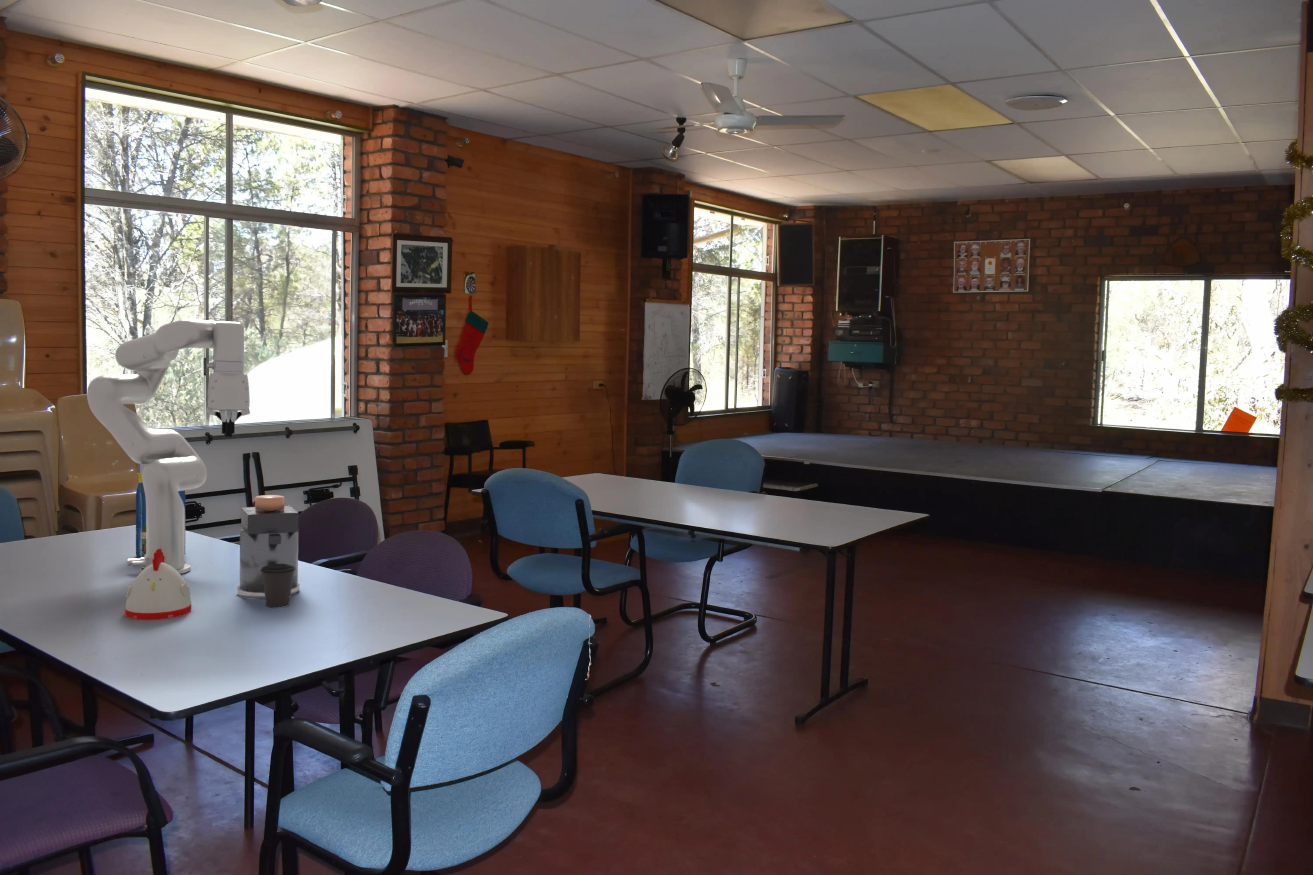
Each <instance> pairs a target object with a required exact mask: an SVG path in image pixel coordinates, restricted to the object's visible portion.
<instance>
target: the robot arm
mask: <svg viewBox="0 0 1313 875" xmlns="http://www.w3.org/2000/svg"><path fill="white" fill-rule="evenodd" d="M189 348H190V349H195V348H196V349H212V351H213V352H212V362H209V363H208V362H207V363H206V368H207V369H211V370H212V372H210V373H209V377H208V384H207V393H206V396H207V398H206V402H207V404H206V405H207V407H206V410H205V412H206V414H207V415H211V416H215V417H217V419H218V420H220V421H221V434H223V436H224V437H225V438H228V437H229V438H231V437H233V434H234V435H235V423H236V421H237V420H238V419H239V418H241V417H242V416H248V415H250V414H251V410H250V402H251V401H250V400H251V399H250V385H249V383H250V382H249V378H248V374H247V373H245V366H244V365H245V327H244V324H243V323H241V322H239V321H238V322H237V321H222V320H221V321H216V320H206V319H195V318H193V319H192V318H184V319H180V320H179V319H178V320H175V321H172V322H169V323H166V324H163V325H161V326H160V327H159V328H158V329H157V330H156V331H155V332H152V333H150V334H147V335H143V336H139V337H137V338H134V339H133V338H132V339H130V340H126V341H125V342H122V343H121V344H120V345H119V346H118V347H117V348H116V350H115V353H114V354H115V355H114V356H115V360H116V362H117V363H118V365H119V366H120V367H122V368H124V369H125V370H128V371H132V372H133V371H134V372H136V373H135V374H133V373H132V374H129V373H128V374H127V373H124V374H123V373H113V374H112V373H111V374H110V373H109V374H102V375H100V376H99V375H98V376H96V377H94V378H93V379H92V380H91V381H90V382H89V384H88V387H87V390H86V398H87V402H88V406H89V409H90V410H91V413H92V414H93V415H94V417H95V418H96V419H97V420H98V422H100V423H101V425H102V426H104V428H105V429H106V430H107V431H108V432H109V433H110V434H111V435H112V437H113V438H114V440H116V442H117V444H119V446H120V447H121V448H122V450H123V451H124V452H125V454H126V455H127V456H128V457H129V458H130V460H132V461H133V462H134V463H136V464H139V465H145V466H144V468H143V470H142V473H141V474H142V482H143V486H144V491H145V497H146V554H145V557H141V558H128V559H127V567H134V568H135V567H140V568H139V574H140V573H141V572H142V571H143V570H144V569H145V568H146V567H148V566H149V565H151V564H153V562H152V559H154V553H156V550H157V549H162V552H163V556H165V559H164V563H166V564H168V565H170V566H172V567H173V568H174V569H176V570H177V571H178V572H179V574H180V575H182V574H185V573H188V572H190V571H191V570H192V569H191V568H192V567H191V564H189V563H186V562H185V560H186V559H185V557H186V507H185V508H184V504H183V501H182V499H181V497H180V495H179V493H178V491H183V490H185V491H188V490H193V489H198V488H200V487H201V486H203V485H204V484H205V483H206V481H207V478H208V471H207V467H206V465H205V463H204V461H203V460H202V458H201V457H200V456H199V454H198V453H197V452H196V451H195V449H194V448H193V447H192V446H191V444H190V443H189V442H188V441H187V439H186V438H185V437H184V436H183V435H182V434H180V433H179V432H178V431H176V430H174V429H170V428H161V429H159V428H155V429H153V428H151V427H149V426H148V425H147V424H146V423H145V421H143V418H141V416H140V415H138V414H137V413H136V412H135V411H133V410H131V409H130V408H128V407H126V406H125V405H134V404H135V405H137V404H138V405H139V404H140V405H141V404H144V403H145V404H146V403H147V402H149V401H151V400H152V399H153V397H154V396H155V394H156V393H157V392H158V390H159V387H160V386H161V384H162V382H163V380H164V378H165V375H166V374H167V372H168V370H169V368H170V365H171V362H172V361H174V360H175V359H176V358H177V357H178V356H179V352H180V351H179V350H183V349H189ZM226 411H229V412H230V417H229V419H227V415H226Z"/></svg>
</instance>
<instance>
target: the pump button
mask: <svg viewBox="0 0 1313 875" xmlns="http://www.w3.org/2000/svg"><path fill="white" fill-rule="evenodd" d="M284 506H285V496H283V495H277V494H267V495H266V494H265V495H264V494H263V495H257V496H255V497H254V507H255V509H256V510H262V511H274V510H282V509H284Z"/></svg>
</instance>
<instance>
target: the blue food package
mask: <svg viewBox="0 0 1313 875" xmlns="http://www.w3.org/2000/svg"><path fill="white" fill-rule="evenodd" d="M178 493H179V495H180V497H181V499H182V501H183V504H184V508H185V509H186V490H183V491H178ZM145 554H146V497H145V491H144V486H143V482H142V473H138V484H137V488H136V492H135V556H136V557H137V558H138V559H141V557H145Z"/></svg>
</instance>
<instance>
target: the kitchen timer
mask: <svg viewBox="0 0 1313 875" xmlns="http://www.w3.org/2000/svg"><path fill="white" fill-rule="evenodd" d="M164 559H165V556H163V552H162V549H157V550H156V553H154V559H152V562H153V564H151V565H149V566H148V567H146V568H145V569H144V570H143V571H142V572H141V573H140V572H139V574H138V575H137V576H136V577H135V579H134V581H133V582H132V584H131V585H130V584H129V585H128V587H127V590H126V592H127V593H126V597H125V599H126V601H125V605H124V616H125V617H127V618H128V619H133V620H141V621H154V620H155V621H156V620H165V619H166V620H167V619H172V618H173V619H174V618H177V617H181V616H184V615H188V614H189V613H191V612H192V598H191V590H190V584H189V581H188V580H185V579H184V578H183V576H182V574H179V572H178V571H177V570H176V569H174V568H173V567H172V566H170V565H168V564H166V563H164Z"/></svg>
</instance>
